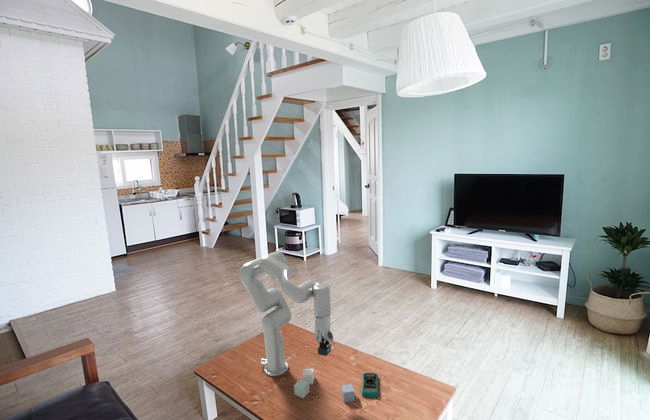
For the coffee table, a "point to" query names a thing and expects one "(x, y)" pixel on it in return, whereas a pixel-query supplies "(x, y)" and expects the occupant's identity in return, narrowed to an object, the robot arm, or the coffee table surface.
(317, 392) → the coffee table surface
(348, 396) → the slate cube
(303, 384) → the sage cube
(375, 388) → the digital multimeter
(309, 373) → the cream cube
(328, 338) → the watch
